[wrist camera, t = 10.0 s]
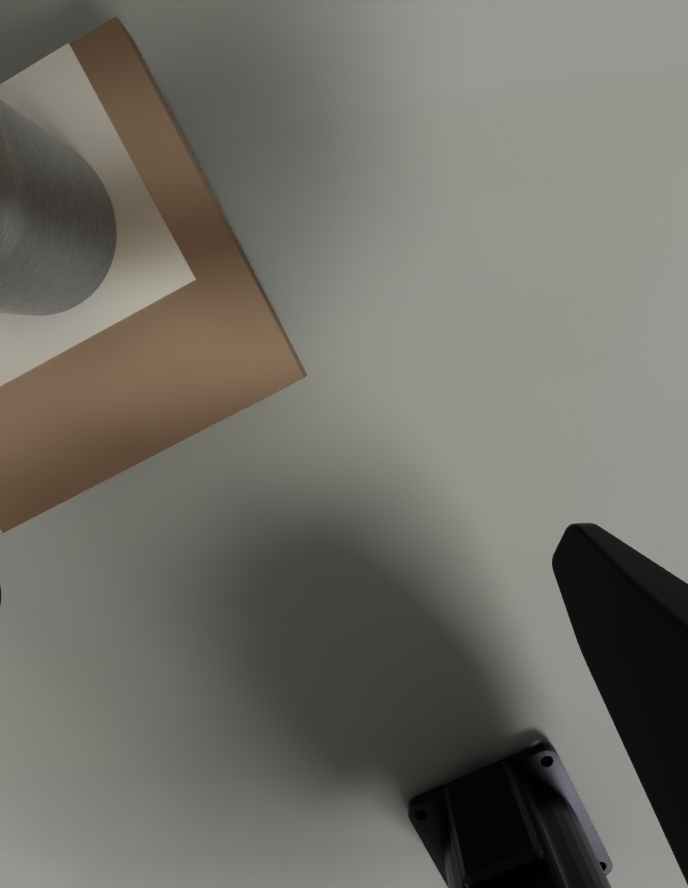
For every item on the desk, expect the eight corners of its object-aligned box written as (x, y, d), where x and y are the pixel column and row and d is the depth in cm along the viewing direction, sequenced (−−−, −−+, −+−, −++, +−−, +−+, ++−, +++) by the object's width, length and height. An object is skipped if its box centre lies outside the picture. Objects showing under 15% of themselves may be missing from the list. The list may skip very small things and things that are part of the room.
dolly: (310, 371, 20) (303, 377, 17) (48, 507, 21) (1, 534, 18) (151, 65, 18) (114, 14, 15) (-127, 229, 19) (-210, 210, 16)
